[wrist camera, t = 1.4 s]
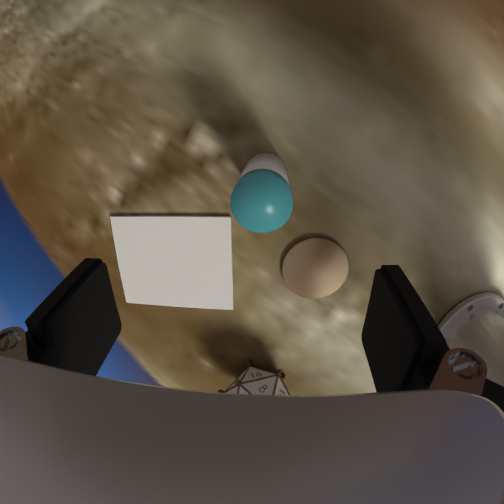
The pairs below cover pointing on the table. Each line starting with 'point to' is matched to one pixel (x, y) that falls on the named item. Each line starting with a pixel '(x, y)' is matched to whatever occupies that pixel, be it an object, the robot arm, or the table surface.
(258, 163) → the marker
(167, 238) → the paper
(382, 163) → the table surface
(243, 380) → the game die
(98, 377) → the robot arm
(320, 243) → the disc
